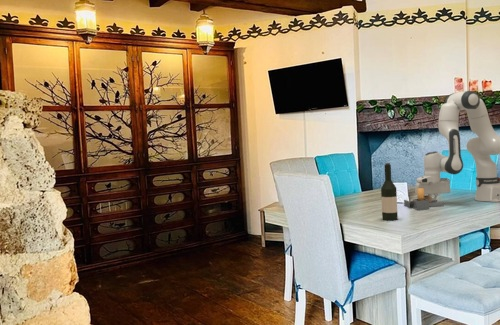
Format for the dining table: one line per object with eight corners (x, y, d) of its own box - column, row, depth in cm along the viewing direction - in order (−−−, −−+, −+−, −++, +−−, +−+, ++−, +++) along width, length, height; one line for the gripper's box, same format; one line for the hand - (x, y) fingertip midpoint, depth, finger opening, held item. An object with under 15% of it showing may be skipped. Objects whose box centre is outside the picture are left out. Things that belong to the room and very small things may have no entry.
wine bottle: (379, 218, 238) (376, 163, 236) (394, 217, 238) (391, 162, 237) (385, 221, 229) (382, 164, 228) (400, 220, 230) (398, 163, 228)
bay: (436, 203, 271) (436, 197, 271) (443, 206, 261) (443, 200, 261) (404, 205, 271) (404, 199, 271) (409, 208, 261) (409, 202, 261)
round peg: (422, 203, 258) (422, 188, 258) (425, 204, 255) (424, 188, 254) (416, 203, 258) (416, 188, 258) (419, 204, 255) (418, 188, 254)
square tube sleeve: (424, 207, 260) (424, 198, 260) (429, 209, 253) (428, 200, 253) (412, 208, 260) (412, 199, 260) (417, 210, 253) (416, 200, 253)
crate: (427, 203, 269) (427, 195, 269) (431, 205, 263) (431, 196, 263) (417, 204, 269) (417, 195, 269) (421, 205, 263) (420, 197, 263)
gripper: (447, 177, 268) (448, 199, 269) (413, 179, 268) (414, 201, 269) (452, 178, 261) (452, 201, 262) (417, 180, 262) (418, 203, 263)
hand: (433, 201), depth 266 cm, fingers closed
